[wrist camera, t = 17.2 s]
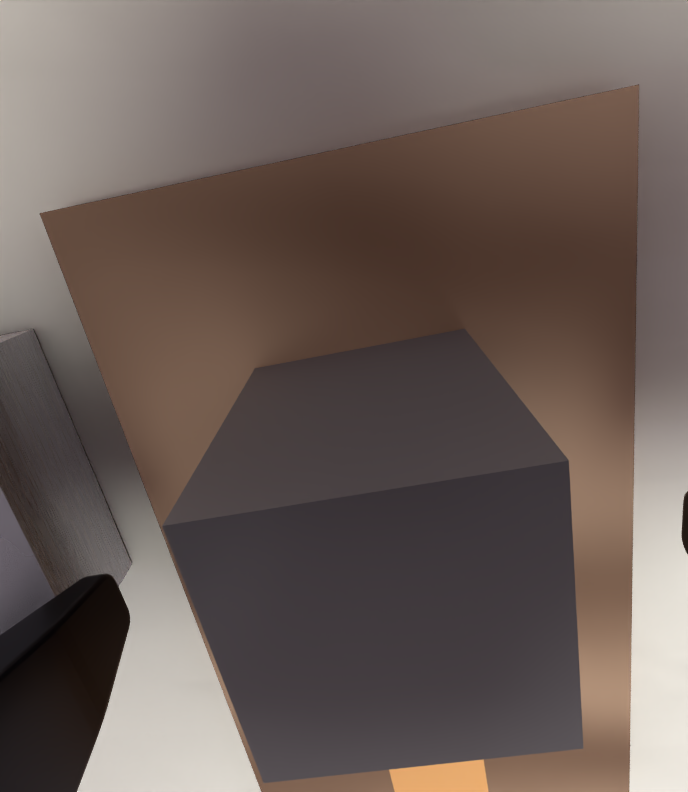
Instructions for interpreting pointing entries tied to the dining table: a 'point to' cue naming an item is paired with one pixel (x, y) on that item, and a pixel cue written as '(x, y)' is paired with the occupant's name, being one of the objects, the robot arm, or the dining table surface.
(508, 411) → the plug
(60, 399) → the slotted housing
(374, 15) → the dining table surface
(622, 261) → the walnut board
